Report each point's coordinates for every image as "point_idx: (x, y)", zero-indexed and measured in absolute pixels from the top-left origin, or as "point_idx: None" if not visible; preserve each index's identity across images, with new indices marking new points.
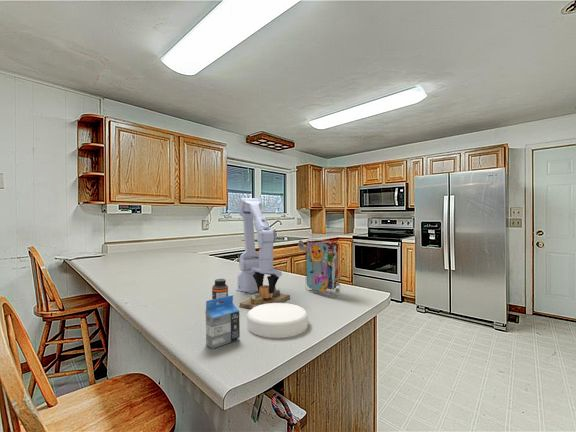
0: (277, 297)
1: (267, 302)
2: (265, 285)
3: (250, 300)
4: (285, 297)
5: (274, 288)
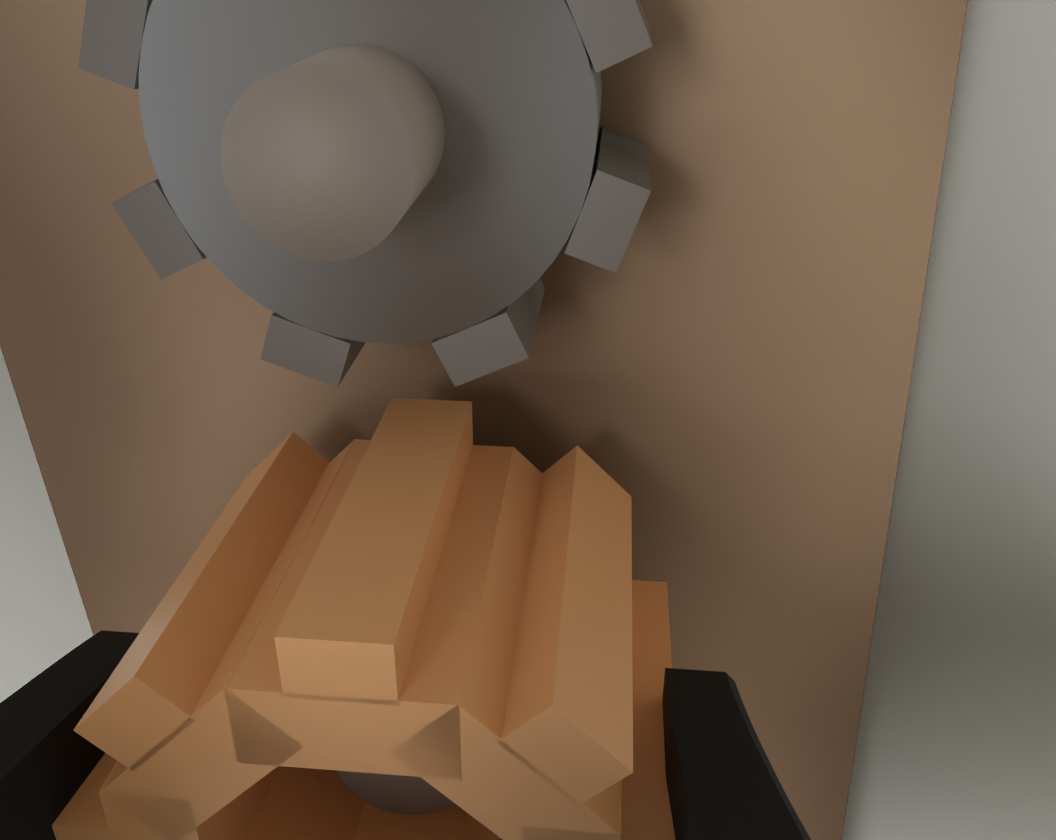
0: (692, 262)
1: None
2: (173, 760)
3: None
4: (959, 32)
5: (783, 795)
